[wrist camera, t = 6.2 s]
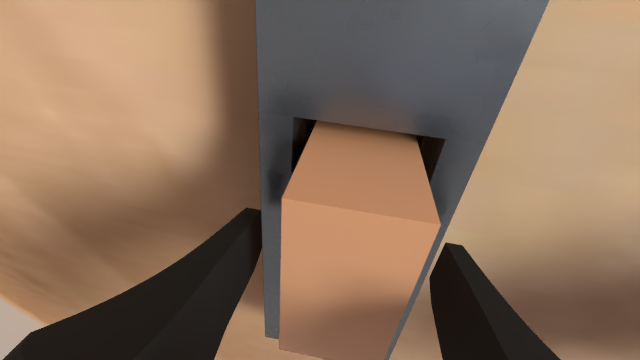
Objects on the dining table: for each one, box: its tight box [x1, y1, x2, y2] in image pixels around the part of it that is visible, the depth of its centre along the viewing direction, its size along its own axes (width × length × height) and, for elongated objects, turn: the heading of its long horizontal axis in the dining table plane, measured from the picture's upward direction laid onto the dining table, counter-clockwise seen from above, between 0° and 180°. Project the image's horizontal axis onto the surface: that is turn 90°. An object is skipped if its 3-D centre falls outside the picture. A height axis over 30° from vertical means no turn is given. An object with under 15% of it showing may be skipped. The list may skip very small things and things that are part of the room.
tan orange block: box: [279, 120, 441, 360], centre depth 12 cm, size 8×4×7 cm, turn 175°
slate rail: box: [255, 0, 549, 360], centre depth 14 cm, size 22×8×3 cm, turn 175°
